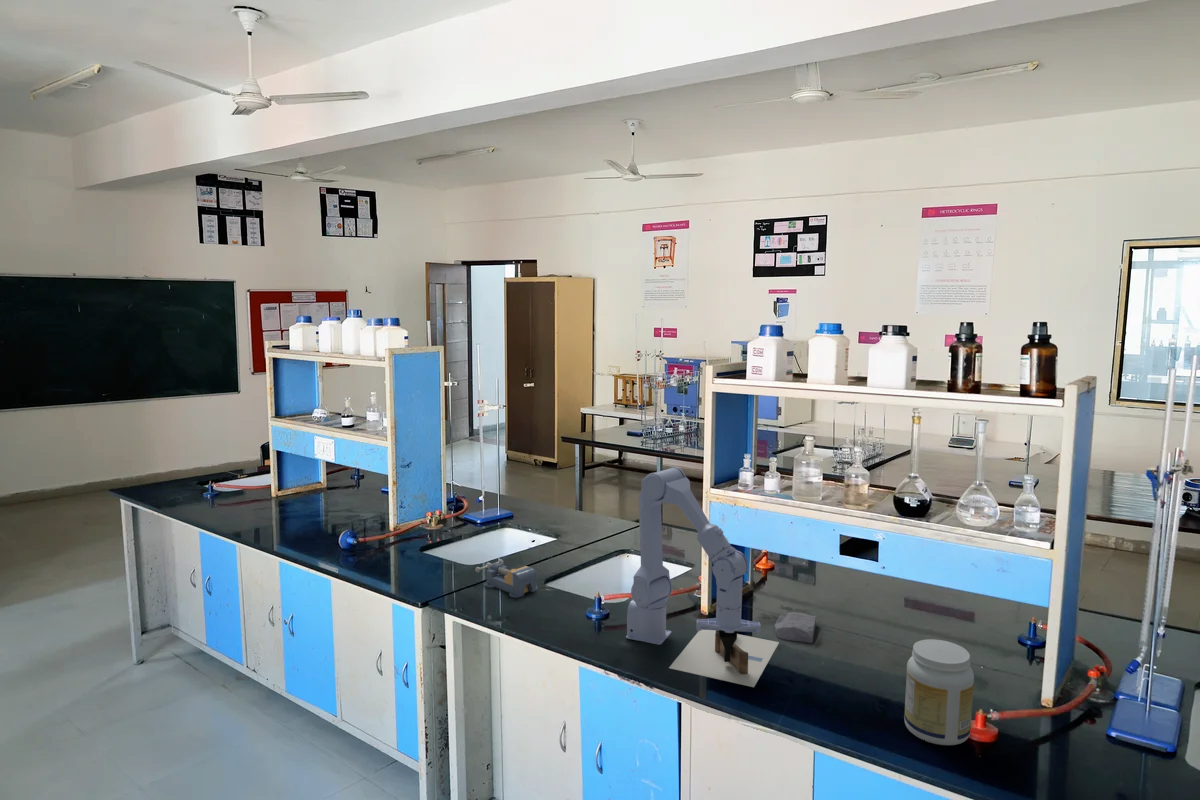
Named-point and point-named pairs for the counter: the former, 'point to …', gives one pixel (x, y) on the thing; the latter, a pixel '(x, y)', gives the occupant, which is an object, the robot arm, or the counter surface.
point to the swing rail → (736, 657)
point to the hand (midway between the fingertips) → (727, 659)
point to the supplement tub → (939, 692)
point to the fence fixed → (717, 643)
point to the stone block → (796, 627)
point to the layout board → (711, 664)
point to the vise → (510, 578)
